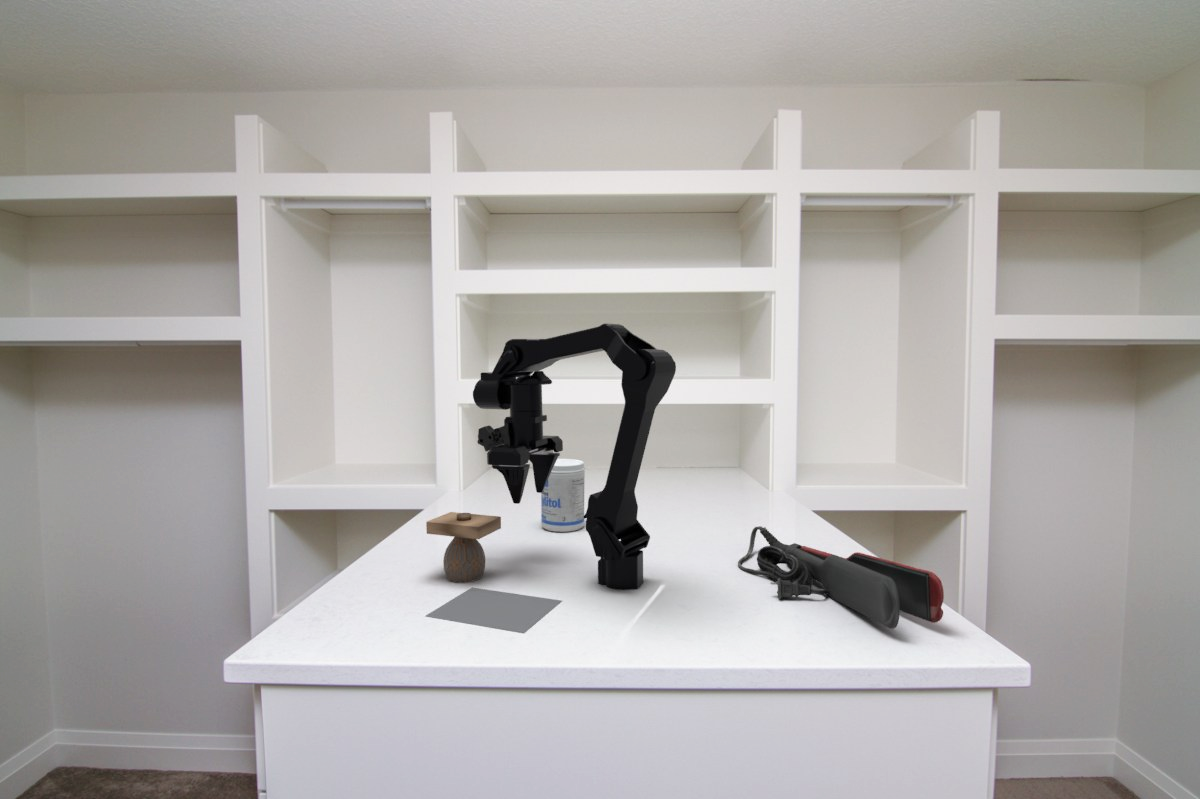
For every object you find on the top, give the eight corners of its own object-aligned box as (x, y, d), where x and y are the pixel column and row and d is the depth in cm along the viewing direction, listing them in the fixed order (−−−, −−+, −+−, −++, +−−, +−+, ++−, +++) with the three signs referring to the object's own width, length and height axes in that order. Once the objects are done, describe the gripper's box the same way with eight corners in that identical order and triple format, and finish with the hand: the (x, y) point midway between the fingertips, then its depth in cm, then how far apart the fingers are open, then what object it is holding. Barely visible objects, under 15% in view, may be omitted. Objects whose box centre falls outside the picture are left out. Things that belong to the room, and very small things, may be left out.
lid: (500, 528, 107) (500, 512, 107) (478, 539, 101) (478, 522, 101) (451, 523, 111) (450, 507, 111) (426, 533, 105) (426, 516, 104)
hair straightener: (779, 549, 124) (779, 508, 123) (949, 635, 85) (950, 576, 85) (707, 558, 119) (707, 515, 118) (853, 653, 81) (854, 590, 80)
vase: (476, 591, 102) (475, 537, 102) (436, 588, 104) (435, 535, 103) (491, 576, 109) (490, 526, 109) (454, 574, 111) (453, 524, 110)
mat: (562, 607, 95) (562, 600, 95) (524, 640, 84) (524, 633, 84) (472, 593, 101) (471, 587, 101) (425, 622, 90) (424, 616, 90)
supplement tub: (533, 529, 138) (532, 463, 137) (555, 519, 147) (555, 457, 146) (571, 535, 134) (570, 466, 133) (592, 524, 142) (592, 460, 141)
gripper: (510, 406, 123) (512, 485, 124) (457, 414, 105) (460, 506, 106) (562, 406, 119) (564, 488, 120) (517, 415, 102) (520, 510, 103)
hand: (528, 497), depth 112 cm, fingers open, 9 cm apart
